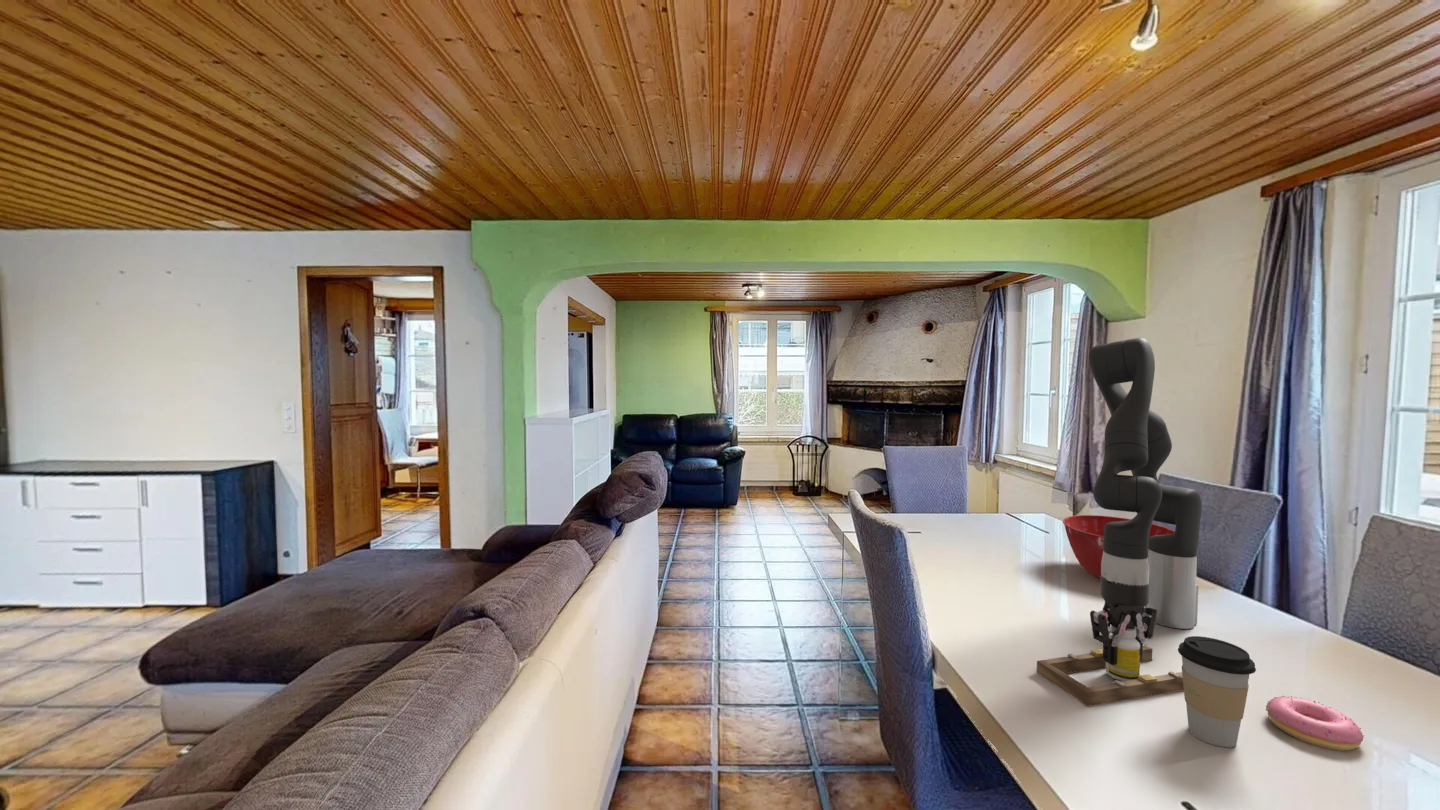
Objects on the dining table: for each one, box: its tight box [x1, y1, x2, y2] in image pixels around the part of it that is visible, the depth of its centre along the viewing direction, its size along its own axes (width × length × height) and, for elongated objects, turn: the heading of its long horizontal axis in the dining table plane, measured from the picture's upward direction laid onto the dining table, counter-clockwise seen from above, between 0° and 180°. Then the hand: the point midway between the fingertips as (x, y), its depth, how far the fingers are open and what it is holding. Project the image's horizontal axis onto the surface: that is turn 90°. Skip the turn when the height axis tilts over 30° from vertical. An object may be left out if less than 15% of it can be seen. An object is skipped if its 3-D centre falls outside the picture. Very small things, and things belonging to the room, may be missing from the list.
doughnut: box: [1265, 695, 1365, 751], centre depth 90 cm, size 11×11×4 cm
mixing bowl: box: [1062, 514, 1175, 580], centre depth 161 cm, size 28×28×16 cm
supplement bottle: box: [1104, 624, 1141, 682], centre depth 106 cm, size 5×5×10 cm
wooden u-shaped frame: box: [1036, 645, 1184, 707], centre depth 106 cm, size 28×12×3 cm, turn 103°
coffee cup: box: [1177, 635, 1257, 748], centre depth 89 cm, size 9×9×15 cm
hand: (1122, 660), depth 106 cm, fingers closed on supplement bottle, 5 cm apart
